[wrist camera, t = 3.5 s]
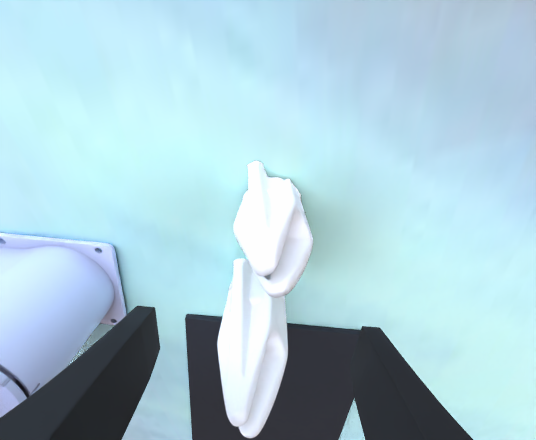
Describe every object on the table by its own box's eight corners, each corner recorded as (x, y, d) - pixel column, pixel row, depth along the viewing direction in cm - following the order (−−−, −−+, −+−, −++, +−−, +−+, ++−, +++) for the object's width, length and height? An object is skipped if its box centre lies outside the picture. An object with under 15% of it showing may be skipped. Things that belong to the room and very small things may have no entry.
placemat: (193, 440, 33) (192, 445, 32) (186, 313, 24) (185, 318, 23) (330, 453, 33) (331, 458, 32) (375, 331, 24) (377, 336, 23)
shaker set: (279, 310, 23) (278, 483, 13) (228, 302, 23) (189, 472, 13) (312, 170, 18) (355, 285, 8) (246, 158, 18) (204, 262, 8)
